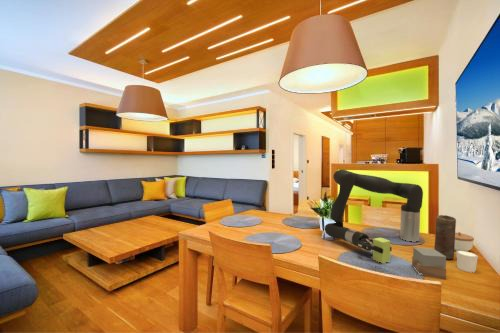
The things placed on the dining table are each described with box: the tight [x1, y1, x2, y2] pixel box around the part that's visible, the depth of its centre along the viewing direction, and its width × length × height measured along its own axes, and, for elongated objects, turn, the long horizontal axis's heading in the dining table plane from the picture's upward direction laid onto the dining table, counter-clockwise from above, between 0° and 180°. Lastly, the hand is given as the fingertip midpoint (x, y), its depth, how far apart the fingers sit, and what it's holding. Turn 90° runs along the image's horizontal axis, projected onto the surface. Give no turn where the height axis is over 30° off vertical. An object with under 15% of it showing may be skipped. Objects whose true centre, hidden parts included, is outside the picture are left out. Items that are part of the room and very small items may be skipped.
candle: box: [433, 214, 457, 260], centre depth 109 cm, size 8×7×20 cm
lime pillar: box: [372, 237, 391, 264], centre depth 105 cm, size 5×5×10 cm
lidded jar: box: [454, 231, 475, 252], centre depth 118 cm, size 11×11×9 cm
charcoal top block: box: [412, 247, 447, 269], centre depth 95 cm, size 8×8×4 cm
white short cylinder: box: [455, 251, 479, 273], centre depth 98 cm, size 7×7×7 cm
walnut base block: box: [411, 255, 447, 280], centre depth 95 cm, size 9×9×4 cm
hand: (386, 250), depth 103 cm, fingers closed on lime pillar, 5 cm apart
